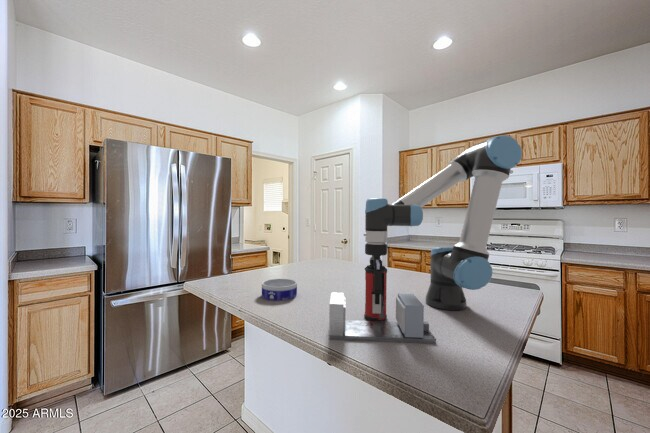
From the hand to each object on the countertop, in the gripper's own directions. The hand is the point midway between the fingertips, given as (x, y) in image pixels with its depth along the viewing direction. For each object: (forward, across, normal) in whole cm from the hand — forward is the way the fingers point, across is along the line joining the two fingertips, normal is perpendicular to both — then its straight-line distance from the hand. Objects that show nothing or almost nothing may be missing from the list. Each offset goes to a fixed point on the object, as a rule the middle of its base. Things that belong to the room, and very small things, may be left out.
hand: (375, 308), depth 99 cm
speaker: (+3, 0, 0) cm, 3 cm away
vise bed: (+3, +12, 0) cm, 12 cm away
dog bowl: (+3, -23, -39) cm, 45 cm away
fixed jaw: (+2, +12, -13) cm, 18 cm away
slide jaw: (+2, +12, +10) cm, 16 cm away
